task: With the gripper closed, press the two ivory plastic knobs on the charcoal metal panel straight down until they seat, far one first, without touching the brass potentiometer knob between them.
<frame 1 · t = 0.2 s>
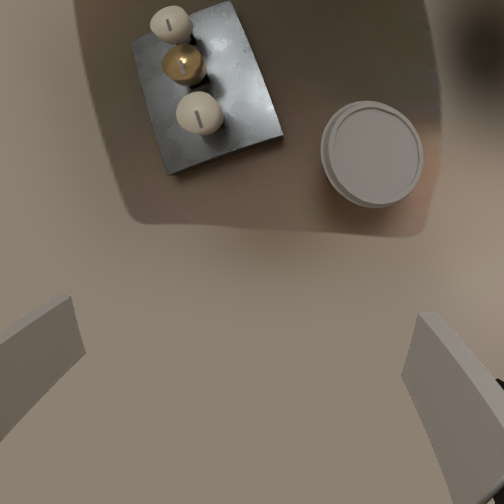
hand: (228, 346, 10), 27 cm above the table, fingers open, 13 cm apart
brass pot knob: (189, 69, 26), point 6 cm above the table, slide at 0.0 cm
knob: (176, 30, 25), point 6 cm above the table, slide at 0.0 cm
mount panel: (204, 85, 32), on the table
disposable coffee cup: (348, 159, 33), on the table
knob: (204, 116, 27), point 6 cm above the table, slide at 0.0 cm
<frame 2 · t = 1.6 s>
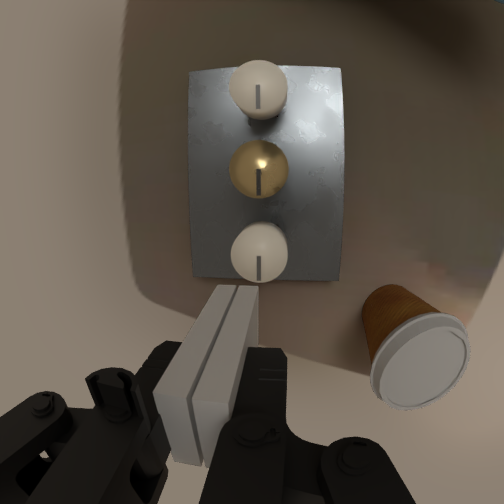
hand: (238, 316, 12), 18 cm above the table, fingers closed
brass pot knob: (262, 169, 22), point 6 cm above the table, slide at 0.0 cm
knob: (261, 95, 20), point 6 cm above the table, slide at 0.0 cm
mount panel: (267, 171, 28), on the table
disposable coffee cup: (387, 309, 30), on the table
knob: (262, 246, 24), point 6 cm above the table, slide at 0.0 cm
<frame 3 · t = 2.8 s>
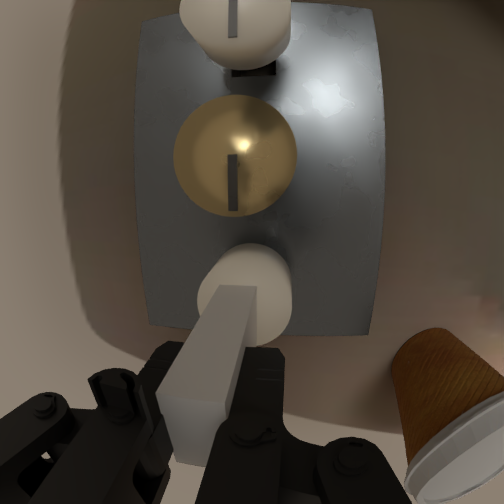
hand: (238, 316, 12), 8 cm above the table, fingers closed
brass pot knob: (245, 158, 12), point 6 cm above the table, slide at 0.0 cm
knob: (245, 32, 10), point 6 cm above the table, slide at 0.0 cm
mount panel: (259, 163, 18), on the table
disposable coffee cup: (424, 358, 20), on the table
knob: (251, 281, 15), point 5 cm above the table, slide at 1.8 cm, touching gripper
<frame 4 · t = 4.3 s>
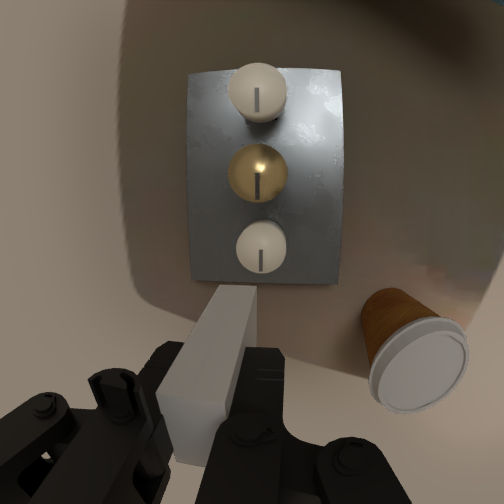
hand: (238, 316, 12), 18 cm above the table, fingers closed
brass pot knob: (260, 173, 22), point 6 cm above the table, slide at 0.0 cm
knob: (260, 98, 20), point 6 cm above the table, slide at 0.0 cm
mount panel: (266, 174, 28), on the table
disposable coffee cup: (386, 312, 30), on the table
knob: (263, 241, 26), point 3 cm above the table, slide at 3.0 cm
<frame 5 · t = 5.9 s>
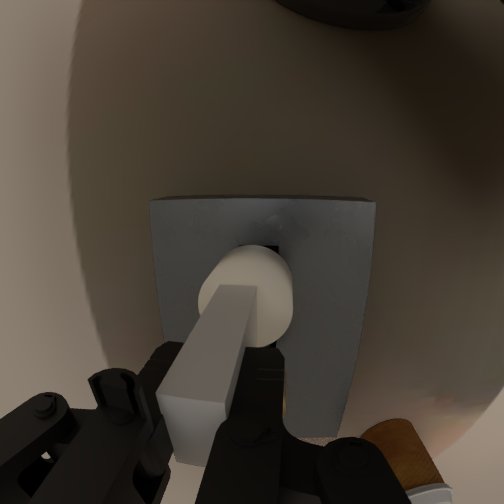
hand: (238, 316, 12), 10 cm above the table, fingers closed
brass pot knob: (253, 376, 16), point 6 cm above the table, slide at 0.0 cm
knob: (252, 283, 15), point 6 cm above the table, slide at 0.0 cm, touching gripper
mount panel: (262, 326, 22), on the table
disposable coffee cup: (385, 435, 25), on the table
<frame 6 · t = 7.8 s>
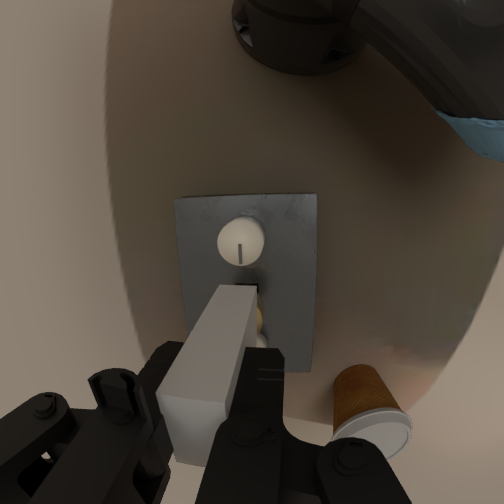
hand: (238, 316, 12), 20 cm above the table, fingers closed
brass pot knob: (242, 307, 27), point 6 cm above the table, slide at 0.0 cm
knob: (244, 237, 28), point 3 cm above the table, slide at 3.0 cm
mount panel: (250, 284, 33), on the table
disposable coffee cup: (356, 381, 35), on the table
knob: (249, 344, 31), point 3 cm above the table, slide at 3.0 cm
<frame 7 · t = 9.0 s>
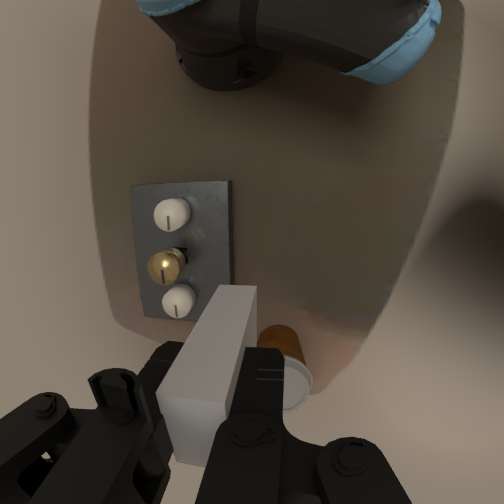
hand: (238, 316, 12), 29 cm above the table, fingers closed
brass pot knob: (171, 262, 37), point 6 cm above the table, slide at 0.0 cm
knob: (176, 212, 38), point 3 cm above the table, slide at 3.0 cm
mount panel: (186, 250, 43), on the table
disposable coffee cup: (278, 341, 45), on the table
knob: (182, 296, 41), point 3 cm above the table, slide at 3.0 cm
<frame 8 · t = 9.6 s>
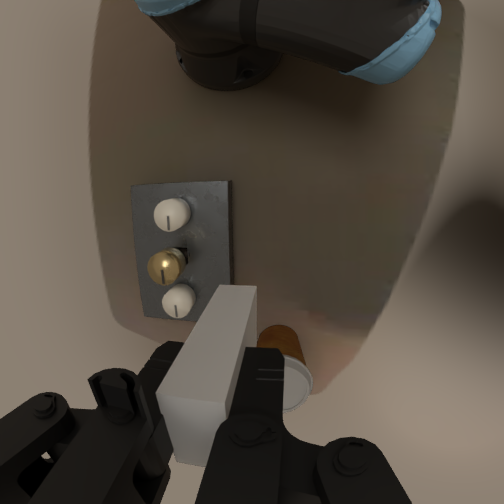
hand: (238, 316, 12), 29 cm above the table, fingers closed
brass pot knob: (171, 262, 37), point 6 cm above the table, slide at 0.0 cm
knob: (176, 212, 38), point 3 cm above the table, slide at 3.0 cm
mount panel: (186, 250, 43), on the table
disposable coffee cup: (278, 341, 45), on the table
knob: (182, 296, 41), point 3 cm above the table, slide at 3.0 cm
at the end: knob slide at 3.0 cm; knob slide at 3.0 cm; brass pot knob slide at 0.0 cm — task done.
